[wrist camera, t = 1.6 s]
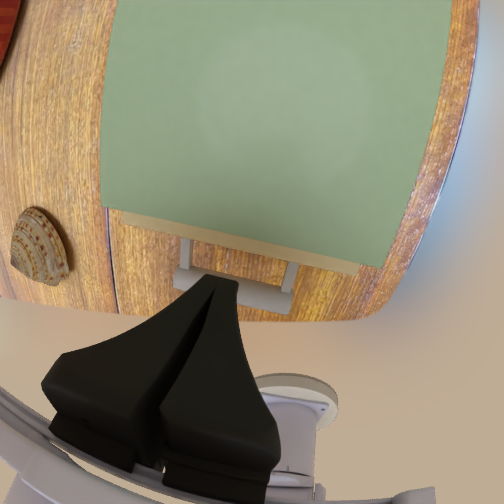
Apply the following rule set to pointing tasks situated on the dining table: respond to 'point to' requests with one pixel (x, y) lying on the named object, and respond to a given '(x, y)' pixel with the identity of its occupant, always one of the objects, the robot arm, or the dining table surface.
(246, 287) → the drawer
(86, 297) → the dining table surface
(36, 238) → the seashell
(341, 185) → the cabinet
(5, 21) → the planter
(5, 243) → the dining table surface
